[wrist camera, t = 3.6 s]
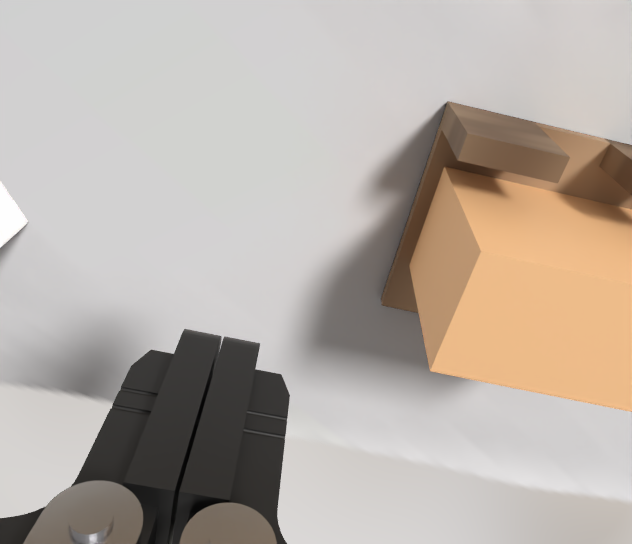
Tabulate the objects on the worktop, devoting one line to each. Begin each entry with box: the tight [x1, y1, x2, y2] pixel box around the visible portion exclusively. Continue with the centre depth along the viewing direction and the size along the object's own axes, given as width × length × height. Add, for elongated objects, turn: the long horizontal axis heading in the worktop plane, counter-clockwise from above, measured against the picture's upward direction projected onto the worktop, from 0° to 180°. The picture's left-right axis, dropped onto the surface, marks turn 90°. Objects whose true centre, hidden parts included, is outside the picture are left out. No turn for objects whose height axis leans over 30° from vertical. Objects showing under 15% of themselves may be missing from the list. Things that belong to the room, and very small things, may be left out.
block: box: [409, 167, 632, 412], centre depth 18 cm, size 7×4×6 cm, turn 78°
